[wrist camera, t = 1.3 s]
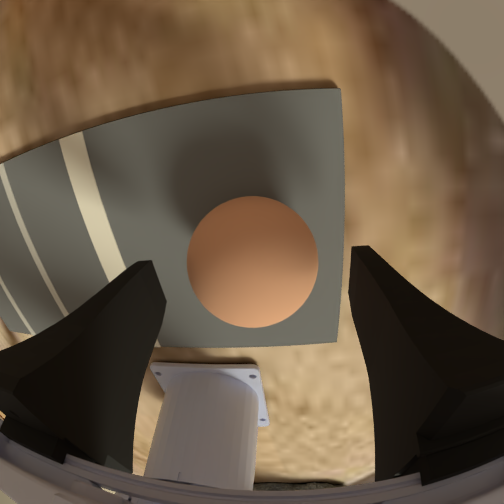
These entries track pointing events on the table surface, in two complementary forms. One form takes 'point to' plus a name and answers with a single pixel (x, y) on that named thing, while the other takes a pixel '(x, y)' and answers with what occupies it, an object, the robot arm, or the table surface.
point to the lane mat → (172, 209)
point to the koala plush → (291, 486)
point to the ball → (252, 261)
